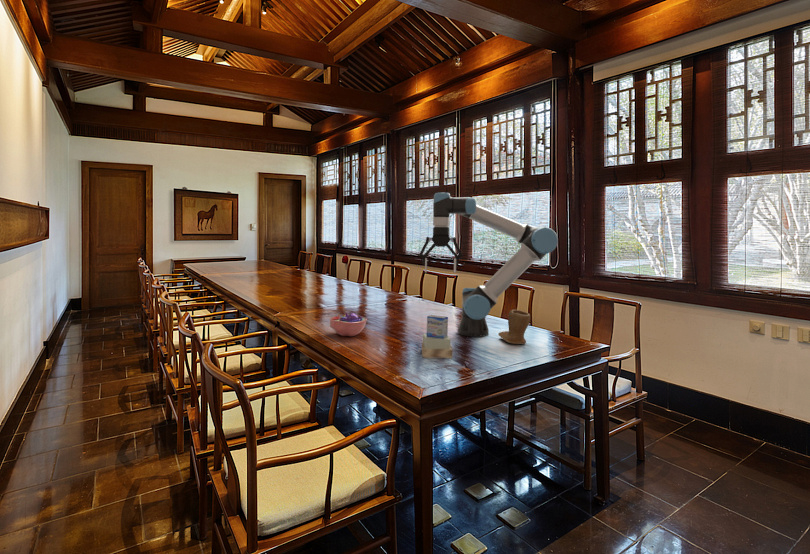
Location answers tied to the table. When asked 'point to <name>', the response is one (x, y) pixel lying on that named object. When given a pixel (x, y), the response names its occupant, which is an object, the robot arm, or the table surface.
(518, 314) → the tan boot-shaped piece
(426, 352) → the lower block
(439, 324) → the medicine box
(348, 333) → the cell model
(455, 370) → the table surface
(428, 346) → the upper block
